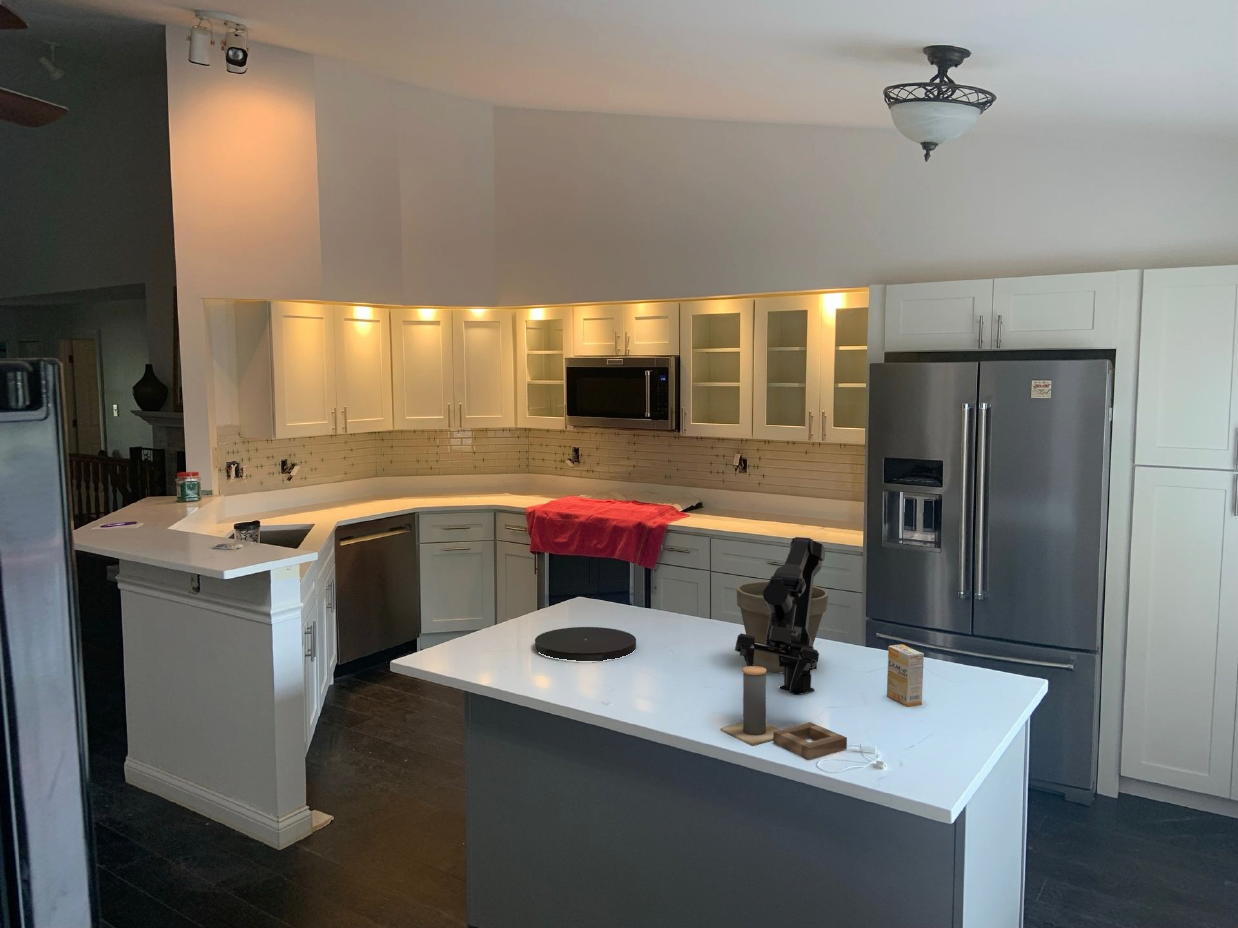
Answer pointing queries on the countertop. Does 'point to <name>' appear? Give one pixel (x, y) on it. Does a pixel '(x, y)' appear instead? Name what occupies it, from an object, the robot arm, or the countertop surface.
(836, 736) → the wooden square frame
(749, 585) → the plant pot
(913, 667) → the supplement box
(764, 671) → the plug
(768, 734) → the cork mat
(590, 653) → the disc
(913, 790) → the countertop surface
